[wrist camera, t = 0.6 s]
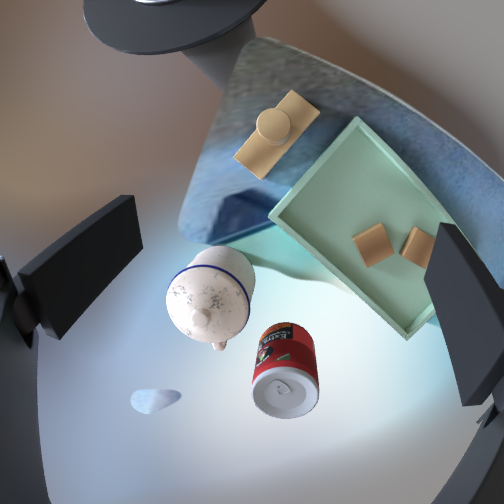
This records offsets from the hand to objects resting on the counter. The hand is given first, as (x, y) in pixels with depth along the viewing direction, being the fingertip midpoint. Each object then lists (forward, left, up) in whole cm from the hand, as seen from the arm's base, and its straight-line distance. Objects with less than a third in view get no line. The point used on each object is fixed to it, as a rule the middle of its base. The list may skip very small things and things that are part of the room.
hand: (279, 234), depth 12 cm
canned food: (+15, -16, -25) cm, 33 cm away
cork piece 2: (+18, +6, -24) cm, 30 cm away
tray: (+14, +4, -25) cm, 29 cm away
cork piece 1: (+13, +2, -24) cm, 27 cm away
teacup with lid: (+3, -15, -25) cm, 29 cm away
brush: (-4, +4, -25) cm, 26 cm away
